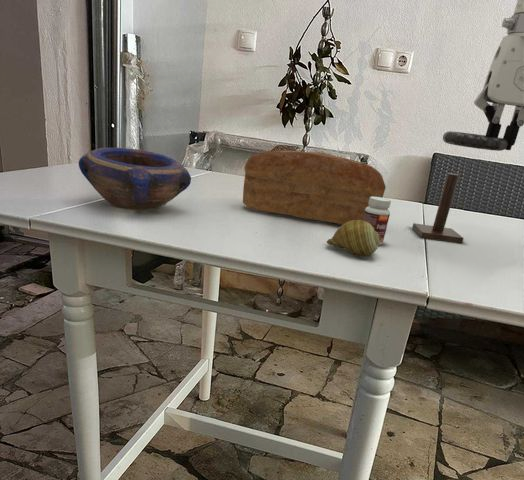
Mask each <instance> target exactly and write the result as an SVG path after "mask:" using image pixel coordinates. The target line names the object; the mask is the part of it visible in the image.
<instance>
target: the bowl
mask: <svg viewBox="0 0 524 480" xmlns="http://www.w3.org/2000/svg"><path fill="white" fill-rule="evenodd" d="M78 168H79V170H80V173H81V174H82V175H83V177H84V178H85V179H86V180H87V181H88V182H89V184H90V185H91V186H92V187H93V189H94V190H95V191H96V192H97V193H98V194H99V195H100V196H101V197H102V198H103V199H104V200H105V201H106V202H107V203H108V204H109V205H110V206H111V207H113V208H115V209H119V210H125V211H151V210H158V209H160V208H161V207H163V206H164V205H165V206H166V205H167V204H168V203H170V201H172V200H174V198H176V197H177V196H179V195H180V194H181V193H182V192H184V191H185V190H187V189H188V188H189V186H190V185H191V182H192V176H191V174H190V172H189V171H188V169H187V168H186V167H185V166H184V165H183V164H181V162H179V161H177V160H175V159H174V158H172V157H169V156H167V155H165V154H162V153H157V152H152V151H147V150H143V149H139V148H128V147H99V148H96V149H93V150H90V151H88V152H87V153H85V154H84V155H82V156H81V157H79V159H78Z"/></svg>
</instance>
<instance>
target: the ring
mask: <svg viewBox="0 0 524 480" xmlns="http://www.w3.org/2000/svg"><path fill="white" fill-rule="evenodd" d="M485 136H486V134H485V135H484V134H477V133H470V132H461V131H446V132H444V133H443V136H442V141H443V142H444V143H445V144H447V145H452V146H458V147H465V148H471V149H479V150H486V151H496V152H499V151H504V150H505V149H506V148H507V146H508V141H507V140H506V139H504V138H503V137H499V136H498V138H492V137H485Z"/></svg>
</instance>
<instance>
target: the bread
mask: <svg viewBox="0 0 524 480" xmlns="http://www.w3.org/2000/svg"><path fill="white" fill-rule="evenodd" d="M244 173H245V174H244V180H243V189H242V190H243V191H242V203H243V205H244V206H245V207H247V208H248V209H251V210H255V211H257V212H259V211H260V212H267V213H272V214H273V213H274V214H279V215H280V214H281V215H288V216H293V217H296V218H301V219H307V220H314V221H322V222H328V223H334V224H338V225H341V226H342V225H343V224H345V223H346V222H349V221H352V220H362V221H363V217H364V213H365V209H366V207H368V206H369V199H370V197H381V198H384V194H385V191H386V188H387V187H386V183H385V180H384V178H383V175H382V173H380V171H379V170H378V169H376V168H374V167H373V166H372V165H369V164H367V163H364V162H362V161H361V162H360V161H357V160H354V159H350V158H346V157H343V156H338V155H334V154H330V153H327V152H320V151H302V150H284V149H283V150H281V149H280V150H279V149H276V150H265V151H261V152H258V153H255V154H253V155H251V156H250V157H249V158H247V160H246V162H245V166H244Z"/></svg>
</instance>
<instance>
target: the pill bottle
mask: <svg viewBox="0 0 524 480" xmlns="http://www.w3.org/2000/svg"><path fill="white" fill-rule="evenodd" d="M391 201H392V200H391V199H388V198H385V197H382V198H381V197H370V199H369V206H368V207H366V209H365V213H364V217H363V221H366V222H368V223H369V224H371V225H372V227H373V228H374V231H376V232H377V233H378V235H380V236H381V238H382V239H381V241H380V243H379V246H381V245H384V239H385V236H386V232H387V228H388V223H389V219H390V216H391V213H390V212H391V211H390V210H389V209H390V208H391Z"/></svg>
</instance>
